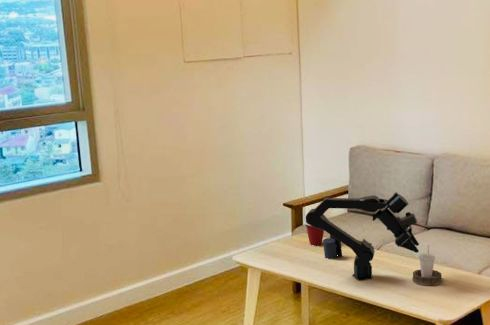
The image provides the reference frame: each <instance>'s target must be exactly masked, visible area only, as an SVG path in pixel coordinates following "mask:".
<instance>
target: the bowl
mask: <svg viewBox="0 0 490 325" xmlns="http://www.w3.org/2000/svg"><path fill="white" fill-rule="evenodd" d="M412 282H413V283H414V284H416V285H420V286H423V287H425V286H426V287H434V286H440V285H441V284H442V283H443V276H442V272H440V271H438V270H434V269H433V272H432V278H426V277H422V275H421V268H420V269H416V270H414V271H412Z"/></svg>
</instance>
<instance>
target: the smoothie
mask: <svg viewBox="0 0 490 325" xmlns="http://www.w3.org/2000/svg"><path fill="white" fill-rule="evenodd" d="M435 259H436V256H435V254H432V253H430V245H427V253H420V254H419V255H418V260H419V266H420V269H421V275H422V277H426V278H432V272H433V270H434V265H435Z"/></svg>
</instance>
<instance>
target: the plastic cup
mask: <svg viewBox="0 0 490 325" xmlns="http://www.w3.org/2000/svg"><path fill="white" fill-rule="evenodd" d="M304 225H305V227H306V231H307V237H308V242H309V244H311V245H310V246H312V245H319V246H321V245H322V243H323V240H324V234H325V231H324V230H322V229H319V228H315V227H313V226H311V225H309V224H308V223H307V222H306V219H305V220H304ZM320 244H321V245H320Z"/></svg>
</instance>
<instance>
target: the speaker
mask: <svg viewBox="0 0 490 325" xmlns="http://www.w3.org/2000/svg"><path fill="white" fill-rule="evenodd" d="M322 243H323V250H324V251H323V252H324V258H325V259H327V258H328V260H333V259H332V258H334V259H335V258H338V257H339V256H342V257H343V252H342V251H343V249H342V242H341V241H339V240H338V239H336V238H335V237H333V236H332V235H330V234H329V237H327V238H323V239H322ZM337 255H338V256H337Z"/></svg>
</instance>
